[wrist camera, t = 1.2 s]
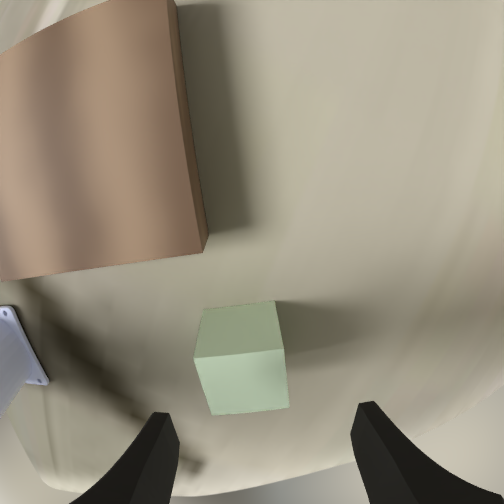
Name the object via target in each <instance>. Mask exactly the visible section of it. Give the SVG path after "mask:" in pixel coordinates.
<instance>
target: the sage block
mask: <svg viewBox="0 0 504 504" xmlns="http://www.w3.org/2000/svg"><path fill="white" fill-rule="evenodd" d="M193 359H194V363H195V366H196V369H197V372H198V375H199V378H200V381H201V385H202V388H203V391H204V394H205V397H206V400H207V403H208V405H209V408H210V411H211V414H212V415H227V414H239V413H250V412H259V411H268V410H276V409H283V408H290V407H289V396H288V386H287V375H286V365H285V355H284V347H283V341H282V336H281V331H280V326H279V321H278V316H277V311H276V306H275V301H269V302H261V303H254V304H246V305H238V306H230V307H222V308H213V309H205V310H203V314H202V318H201V323H200V328H199V333H198V337H197V342H196V347H195V352H194V357H193Z"/></svg>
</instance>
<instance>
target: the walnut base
mask: <svg viewBox="0 0 504 504" xmlns="http://www.w3.org/2000/svg"><path fill="white" fill-rule="evenodd" d="M208 236H209V233H208V227H207V222H206V216H205V210H204V204H203V199H202V193H201V186H200V180H199V174H198V168H197V162H196V155H195V149H194V142H193V135H192V128H191V121H190V114H189V107H188V100H187V92H186V85H185V77H184V69H183V61H182V52H181V44H180V35H179V26H178V16H177V6H176V4H175V2H174V0H109V1H106V2H103V3H101V4H98V5H95V6H93V7H90V8H88V9H86V10H83V11H81V12H78V13H76V14H74V15H72V16H69V17H67V18H65V19H63V20H61V21H59V22H57V23H55V24H53V25H51V26H49V27H47V28H45V29H43V30H41V31H39V32H37V33H35V34H34V35H32V36H30V37H28V38H27V39H25V40H23V41H21V42H20V43H18V44H16V45H15V46H13V47H11V48H10V49H8V50H7V51H5V52H4V53H2V54H1V55H0V279H1V282H3V281H10V280H16V279H23V278H30V277H37V276H44V275H50V274H57V273H64V272H71V271H78V270H85V269H92V268H99V267H106V266H113V265H120V264H127V263H134V262H141V261H148V260H155V259H162V258H169V257H176V256H183V255H191V254H198V253H203V250H204V248H205V245H206V242H207V239H208Z"/></svg>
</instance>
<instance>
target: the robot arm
mask: <svg viewBox="0 0 504 504" xmlns="http://www.w3.org/2000/svg"><path fill="white" fill-rule="evenodd" d="M24 383H30V384H38V385H48V383H49V379H48V377H47V376H46V374H45V372H44V370H43V369H42V367H41V365H40V363H39V361H38V359H37V357H36V355H35V353H34V352H33V350H32V348H31V346H30V344H29V341H28V339H27V337H26V335H25V333H24V331H23V329H22V327H21V324H20V322H19V320H18V318H17V315H16V313H15V311H14V309H13V308H12V307H11V306H0V419H1V417H2V416H3V414H4V412H5V411H6V409H7V408H8V406H9V405H10V404H11V402H12V401H13V399H14V398H15V396H16V395H17V393H18V392H19V390H20V389H21V388H22V386H23V385H24ZM350 435H351V441H352V446H353V451H354V456H355V459H356V462H357V465H358V468H359V471H360V474H361V477H362V480H363V483H364V486H365V489H366V492H367V495H368V498H369V502H370V504H504V499H503V498H502V496H501V495H499V494H496V493H493V492H490V491H487V490H484V489H482V488H479V487H477V486H474V485H472V484H470V483H468V482H466V481H464V480H462V479H461V478H459V477H457V476H455V475H453V474H452V473H450V472H449V471H447V470H446V469H444V468H442V467H441V466H439V465H438V464H437V463H436V462H434V461H433V460H432V459H430V458H429V457H428V456H427V455H425V454H424V453H423V452H422V451H421V450H420V449H418V448H417V447H416V446H415V445H414V444H413V443H412V442H411V441H410V440H409V439H408V438H407V437H406V436H405V435H404V434H403V433H402V432H401V431H400V430H399V429H398V428H397V427H396V426H395V424H394V423H393V422H392V421H391V420H390V419H389V418H388V417H387V415H386V414H385V413H384V412H383V411H382V410H381V409H380V407H379V406H378V405H377V404H376V403H375V402H374V401H370V402H364V403H359V405H358V408H357V412H356V416H355V419H354V423H353V426H352V430H351V433H350ZM179 445H180V442H179V439H178V437H177V434H176V431H175V428H174V426H173V423H172V420H171V417H170V414H169V413H161V412H154V413H152V415H151V416H150V418H149V419H148V421H147V422H146V424H145V425H144V427H143V428H142V430H141V431H140V433H139V434H138V435H137V437H136V438H135V440H134V441H133V442H132V444H131V445H130V446H129V447H128V449H127V450H126V451H125V453H124V454H123V455H122V456H121V457H120V459H119V460H118V461H117V462H116V463H115V464H114V465H113V467H112V468H111V469H110V470H109V471H108V472H107V473H106V474H105V475H104V476H103V477H102V478H101V479H100V480H99V481H98V482H97V483H96V484H94V485H93V486H92V487H91V488H90V489H89V490H87V491H86V492H85V493H84V494H82V495H81V496H80V497H78V498H77V499H76V500H74V501H72V502H71V503H69V504H169V502H170V498H171V493H172V489H173V484H174V480H175V475H176V471H177V466H178V457H179Z"/></svg>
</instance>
